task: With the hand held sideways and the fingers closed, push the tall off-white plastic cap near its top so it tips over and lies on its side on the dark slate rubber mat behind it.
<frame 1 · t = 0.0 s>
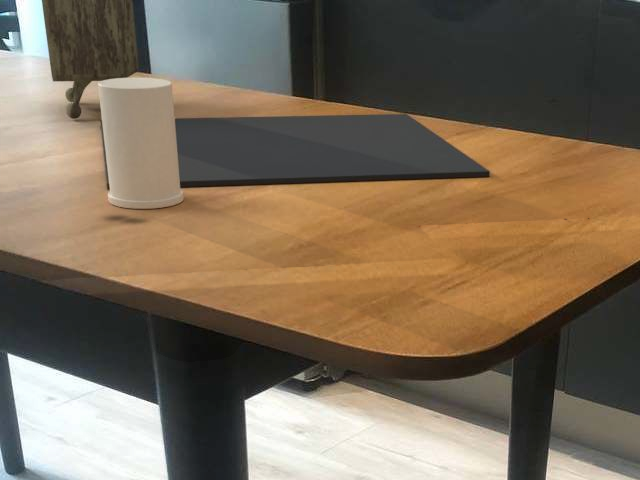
tabletop clock: (99, 112, 124), on the table
mat: (280, 148, 108), on the table
cap: (146, 199, 89), on the table
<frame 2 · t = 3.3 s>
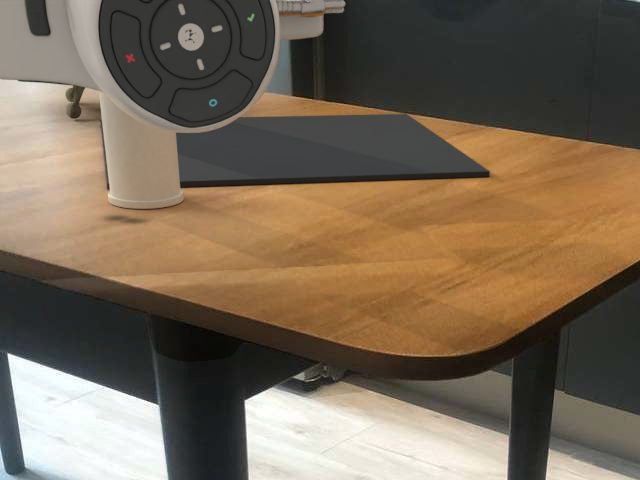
nothing on the table moved.
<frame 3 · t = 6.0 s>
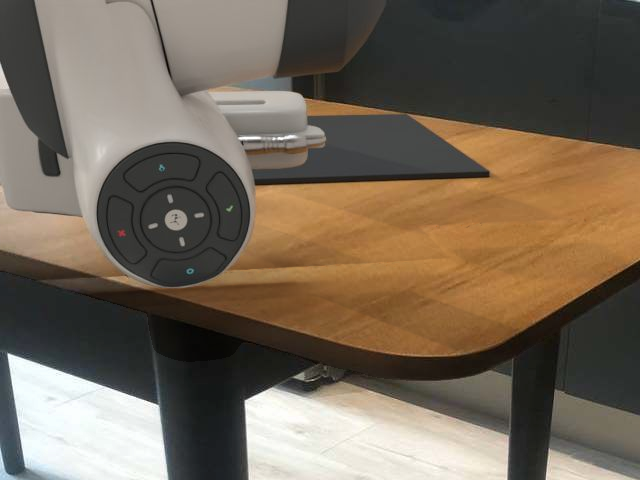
hand: (143, 108, 74), 9 cm above the table, tool horizontal, fingers closed
nothing on the table moved.
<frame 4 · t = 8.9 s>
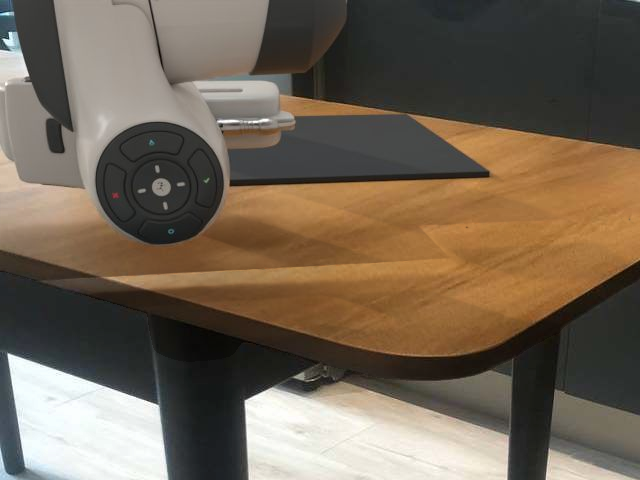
hand: (137, 95, 84), 8 cm above the table, tool horizontal, fingers closed, pressing on cap
cap: (145, 189, 88), point 1 cm above the table, tilted 17°, touching gripper
everything else where it was.
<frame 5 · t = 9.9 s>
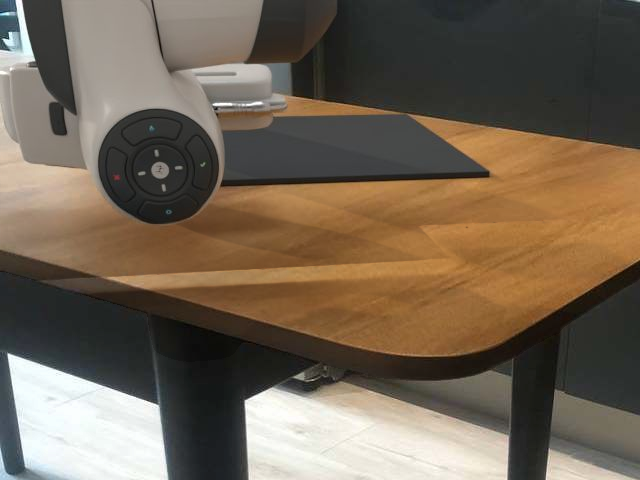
hand: (135, 77, 87), 9 cm above the table, tool horizontal, fingers closed, pressing on cap
cap: (143, 169, 89), point 2 cm above the table, tilted 49°, touching gripper
everything else where it was.
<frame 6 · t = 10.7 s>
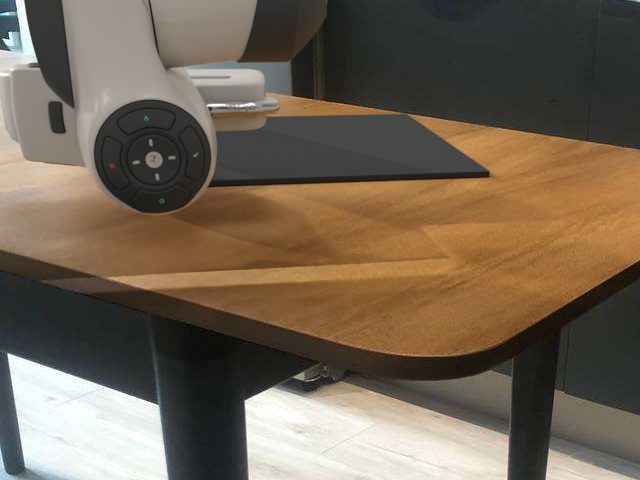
hand: (132, 84, 90), 8 cm above the table, tool horizontal, fingers closed
cap: (140, 151, 89), point 3 cm above the table, tilted 90°, touching mat
everything else where it was.
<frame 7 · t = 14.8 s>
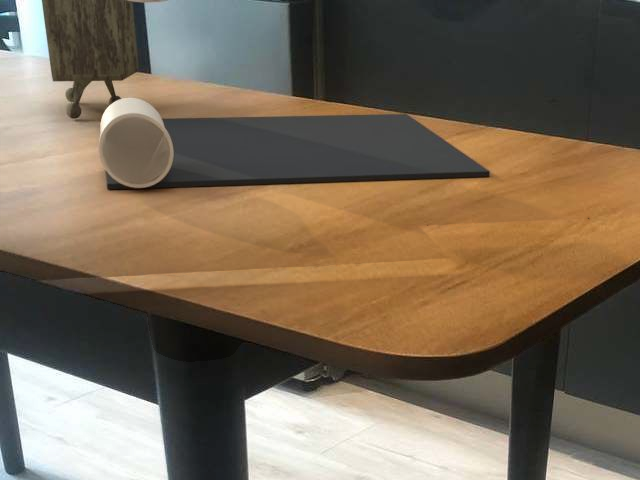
nothing on the table moved.
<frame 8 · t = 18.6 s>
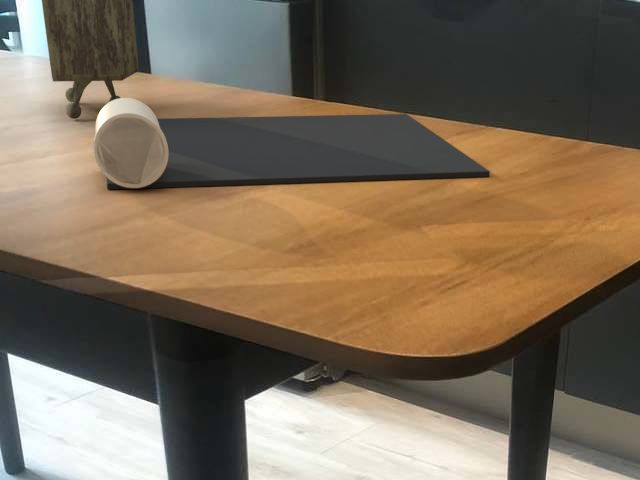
nothing on the table moved.
at the end: cap tilted 90°; cap touching mat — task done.
